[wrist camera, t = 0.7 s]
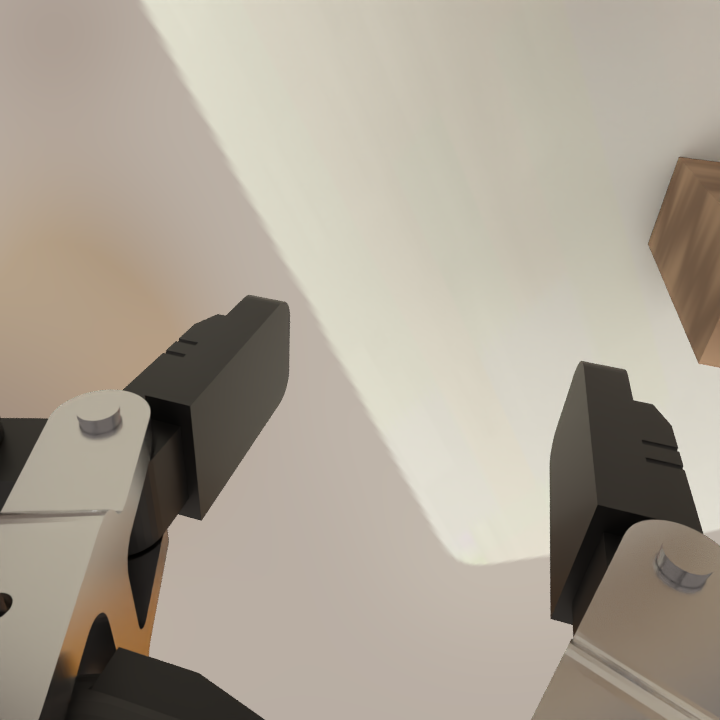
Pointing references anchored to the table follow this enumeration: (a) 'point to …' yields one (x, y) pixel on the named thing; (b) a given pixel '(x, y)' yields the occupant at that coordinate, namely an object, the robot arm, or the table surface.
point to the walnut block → (692, 252)
